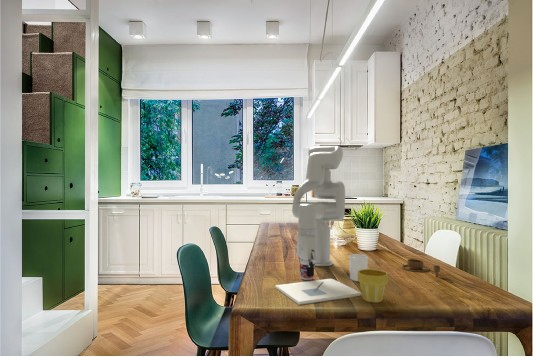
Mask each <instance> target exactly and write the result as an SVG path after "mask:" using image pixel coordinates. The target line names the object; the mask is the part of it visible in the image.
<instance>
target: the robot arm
mask: <svg viewBox="0 0 533 357" xmlns="http://www.w3.org/2000/svg"><path fill="white" fill-rule="evenodd" d="M343 153H344V152H343V149H342V147H341V146H339V145H316V146H312V147H310V148H309V149H308V158H307V167H306V175H305V179H304V180H305V181H304V182H302V184H301V185H299V186H298V188H297V189H296V191H295V193H294V195H293V199H292V207H291V209H292V211H291V212H292V215H293V216H294V217H295V218H296V219H297V218H298V222H297V223H298V231H297V232H298V233H297V234H298V235H297V241H296V242H297V243H296V256H297V257H298V259H299V273H300V274H301V261H302V260H303V259H304V260H307V264H308V267H307V276H308V277H309V276H313V277H314V276H315V267H330V266H333V265H334V261H333V260H331V228H330V226H329V224H327V222H342V221H343V220H344V218H345V210H346V209H345V208H346V207H345V206H346V186H345V184H344V182H343V181H340V180H332V178H331V175H332V174H331V173H332V172H331V170H336V169H338V168H339V166H340V164H341V161H342V160H343V156H344V154H343ZM311 191H313V196H314V198H316V199H317V200H334V201H301V200H302V198H303V197H304V196H305V195H306V194H307V193H309V192H311ZM310 258H311V259H310ZM310 261H312V262H310Z"/></svg>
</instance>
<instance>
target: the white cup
mask: <svg viewBox="0 0 533 357" xmlns="http://www.w3.org/2000/svg"><path fill="white" fill-rule="evenodd" d="M368 258H369V256H368V255H366V254H360V253H359V254H357V253H351V254H349V255H348V268H349V269H348V270H349V279H350V280H351V281H354V282H359V281H358V271H359V270H362V269H368V263H369V262H368V261H369V260H368Z"/></svg>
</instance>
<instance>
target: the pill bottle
mask: <svg viewBox="0 0 533 357" xmlns="http://www.w3.org/2000/svg"><path fill="white" fill-rule="evenodd" d="M310 259H311V258H310ZM310 262H312V261H310ZM300 264H301V273H300V279H301V280H305V281H312V280H313V279H314V276H309V277H308V276H307V267H308V264H307V260H304V259H303V260H302V261H301V263H300Z"/></svg>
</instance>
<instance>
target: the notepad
mask: <svg viewBox="0 0 533 357" xmlns="http://www.w3.org/2000/svg"><path fill="white" fill-rule="evenodd" d="M274 285H275V284H274ZM274 288H275V289H276V290H277V291H279V292H280V293H282V294H283V295H284V296H285V297H287V298H288V299H290V300H291V301H293V302H294V303H295V304H296V305H299V306H300V305H306V304H312V303H313V304H314V303H319V302H320V303H321V302H327V301H333V300H339V299H340V300H341V299H347V298H354V297H355V298H356V297H359V296H361V297H362V291H361V292H360V291H358V290H356V289H354V288H353V287H350V286H348V285H346V284H344V283H342V282H340V281H338V280H336V279H333V278H326V279H325V278H324V279H316V280H306V281H300V282H292V283H283V284H276V285H275V286H274Z"/></svg>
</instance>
